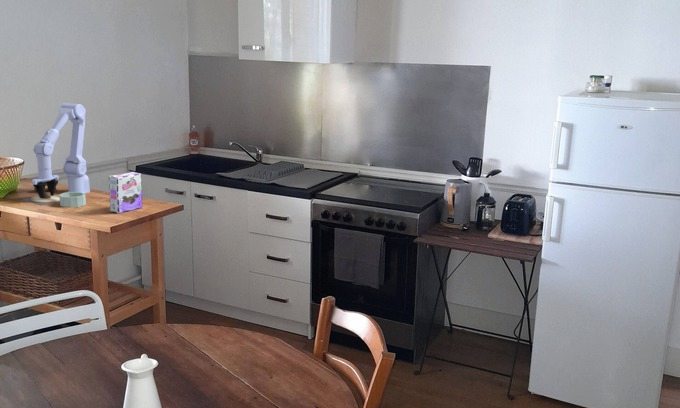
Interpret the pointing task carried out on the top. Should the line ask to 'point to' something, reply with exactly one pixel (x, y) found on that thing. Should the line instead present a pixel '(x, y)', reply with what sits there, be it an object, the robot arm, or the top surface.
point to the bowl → (72, 199)
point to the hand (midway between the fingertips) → (46, 196)
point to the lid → (45, 198)
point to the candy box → (125, 192)
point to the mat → (38, 203)
